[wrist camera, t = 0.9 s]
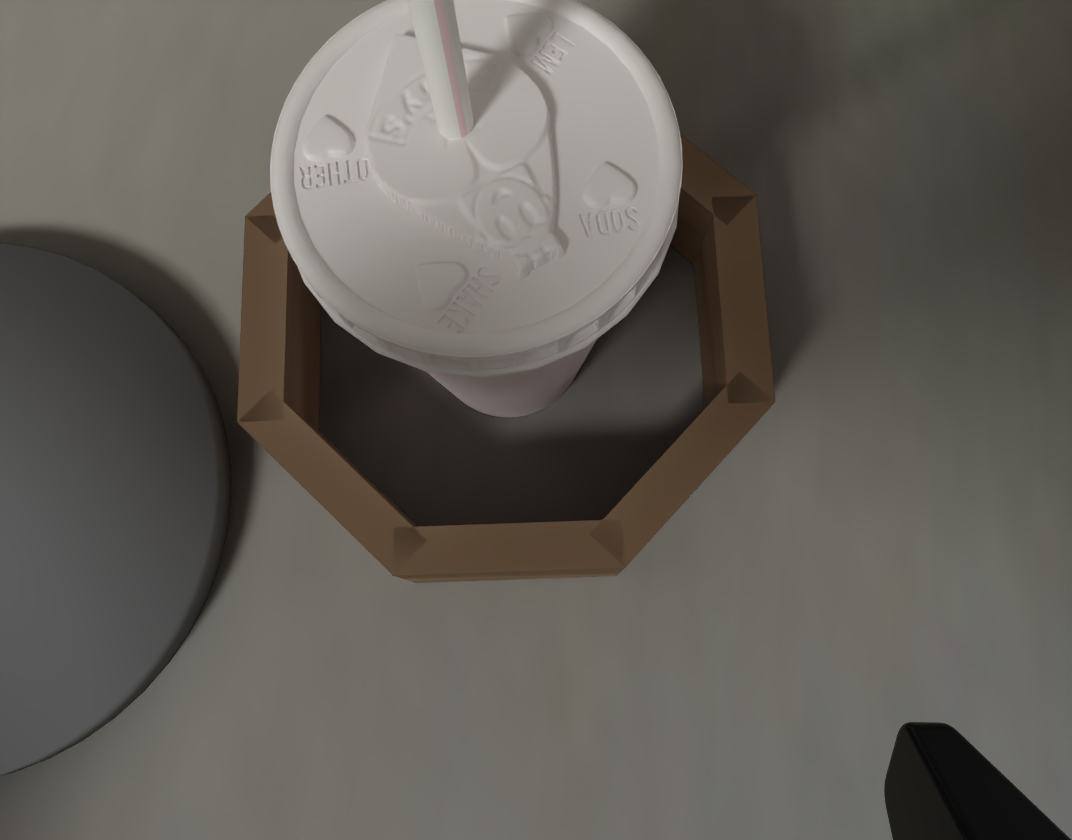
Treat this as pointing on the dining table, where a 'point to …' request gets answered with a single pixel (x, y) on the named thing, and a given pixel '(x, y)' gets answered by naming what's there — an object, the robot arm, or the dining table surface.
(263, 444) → the brown octagonal holder
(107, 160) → the dining table surface
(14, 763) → the rubber mat
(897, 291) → the dining table surface
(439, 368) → the smoothie
